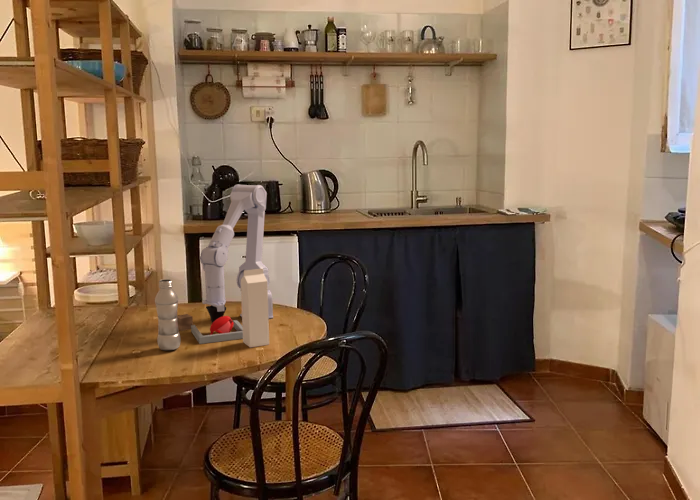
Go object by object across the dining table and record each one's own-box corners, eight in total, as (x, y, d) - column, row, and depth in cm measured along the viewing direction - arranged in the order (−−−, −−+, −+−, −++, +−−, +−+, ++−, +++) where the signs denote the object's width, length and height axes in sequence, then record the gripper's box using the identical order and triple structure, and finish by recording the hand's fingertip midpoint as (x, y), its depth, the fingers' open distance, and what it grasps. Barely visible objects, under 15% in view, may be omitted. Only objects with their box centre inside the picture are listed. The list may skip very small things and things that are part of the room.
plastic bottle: (160, 354, 192) (156, 284, 188) (155, 347, 198) (151, 279, 194) (183, 350, 195) (180, 281, 191) (177, 344, 200) (174, 277, 197)
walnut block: (187, 326, 220) (186, 313, 219) (193, 328, 217) (192, 316, 216) (175, 328, 217) (175, 316, 217) (181, 331, 214) (180, 318, 214)
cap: (234, 321, 212) (216, 312, 211) (237, 319, 207) (219, 310, 206) (222, 344, 210) (204, 335, 209) (225, 343, 204) (207, 334, 203)
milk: (242, 342, 202) (239, 268, 198) (262, 339, 205) (259, 266, 201) (250, 347, 197) (246, 272, 193) (270, 344, 199) (267, 269, 196)
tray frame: (237, 326, 219) (236, 320, 218) (248, 337, 206) (247, 331, 206) (191, 331, 213) (191, 325, 213) (199, 344, 201) (199, 337, 200)
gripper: (197, 282, 215) (199, 324, 217) (206, 292, 202) (208, 336, 204) (219, 280, 217) (221, 321, 220) (230, 289, 204) (232, 333, 207)
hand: (217, 328), depth 212 cm, fingers closed
